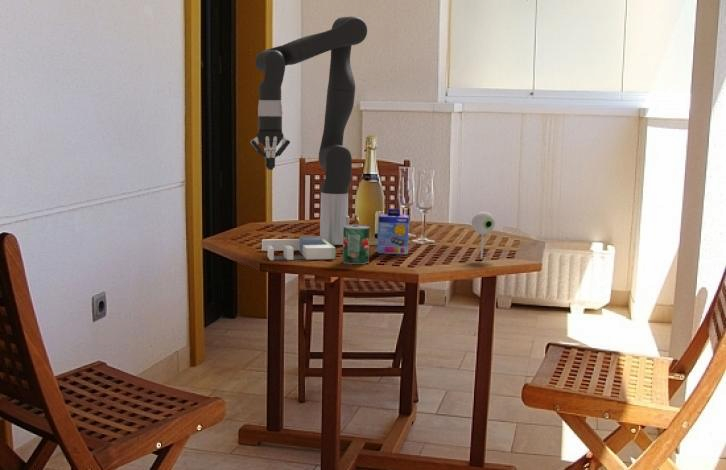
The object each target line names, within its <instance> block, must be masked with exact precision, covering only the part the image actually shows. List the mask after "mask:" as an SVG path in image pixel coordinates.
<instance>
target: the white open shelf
mask: <svg viewBox="0 0 726 470" xmlns="http://www.w3.org/2000/svg"><path fill="white" fill-rule="evenodd" d="M261 251H262V252H267V258H268V259H269V260H270V261H291V260H292V261H297V260H307V261H308V260H336V247H335V245H331V244H330V243H329V242H327V241H326V240H325V239H322V245H303V255H294V251H300V238H286V239H285V238H283V239H282V238H281V239H280V238H278V239H275V238H274V239H271V238H270V239H269V238H268V239H261ZM277 251H279V252H282V251H283V255H275V254H274V253H275V252H277ZM286 259H287V260H286Z"/></svg>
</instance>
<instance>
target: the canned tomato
mask: <svg viewBox="0 0 726 470" xmlns="http://www.w3.org/2000/svg"><path fill="white" fill-rule="evenodd" d="M343 227H344V234H343V245H342V246H343V247H342V249H343V250H342V263H344V264H346V263H347V265H352V264H362V265H367V264H366V263H368V264H369V262H370V261H369V260H370V259H369V257H370V256H369V255H370V253H369V252H370V227H371V226H369V225H366V224H358V223H357V224H356V223H355V224H349V225H344V226H343Z"/></svg>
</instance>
